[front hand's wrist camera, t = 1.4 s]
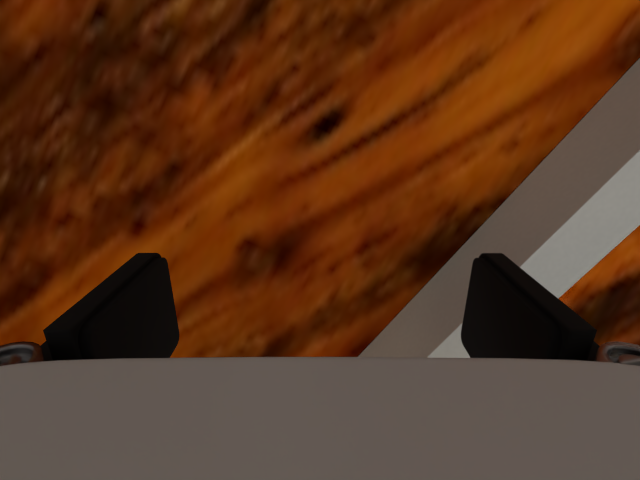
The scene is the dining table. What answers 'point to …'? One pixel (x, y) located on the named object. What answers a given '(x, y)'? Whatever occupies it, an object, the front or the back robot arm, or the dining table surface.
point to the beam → (540, 225)
